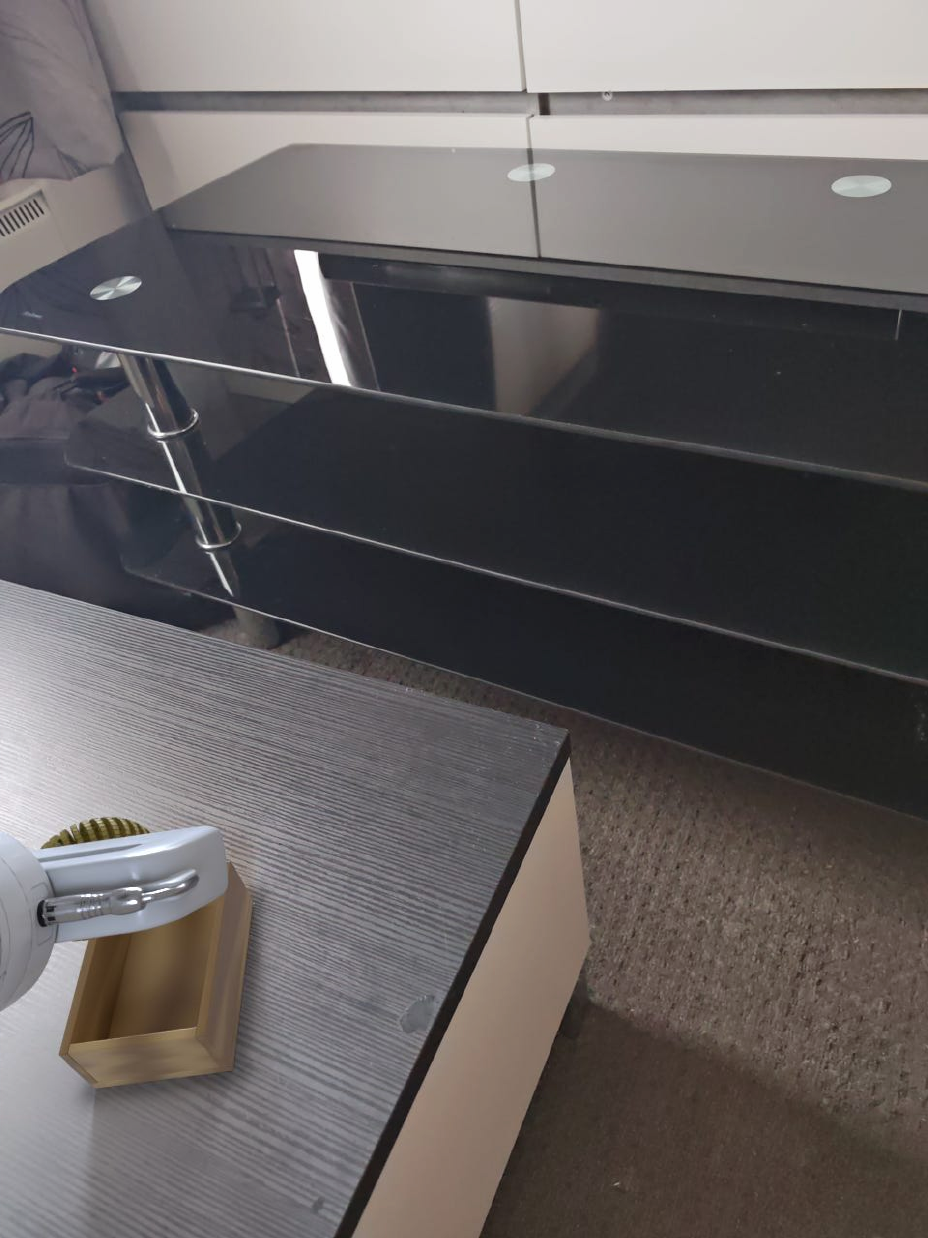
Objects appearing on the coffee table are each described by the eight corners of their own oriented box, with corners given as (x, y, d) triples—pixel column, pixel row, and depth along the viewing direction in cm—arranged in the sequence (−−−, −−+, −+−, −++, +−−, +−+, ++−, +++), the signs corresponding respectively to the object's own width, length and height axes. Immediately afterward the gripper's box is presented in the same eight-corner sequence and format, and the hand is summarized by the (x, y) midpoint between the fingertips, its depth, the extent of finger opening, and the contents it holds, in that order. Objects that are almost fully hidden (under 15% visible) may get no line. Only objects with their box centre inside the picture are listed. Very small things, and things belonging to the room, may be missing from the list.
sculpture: (69, 978, 54) (3, 907, 49) (50, 930, 57) (-14, 857, 51) (192, 898, 57) (143, 823, 52) (169, 856, 59) (120, 780, 54)
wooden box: (94, 1089, 59) (57, 1055, 56) (133, 917, 68) (103, 879, 65) (233, 1071, 59) (205, 1035, 55) (253, 900, 68) (230, 860, 64)
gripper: (162, 824, 40) (254, 783, 54) (-282, 890, 41) (-80, 833, 55) (181, 970, 39) (269, 891, 53) (-267, 1033, 40) (-67, 939, 54)
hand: (90, 862), depth 54 cm, fingers closed on sculpture, 7 cm apart
